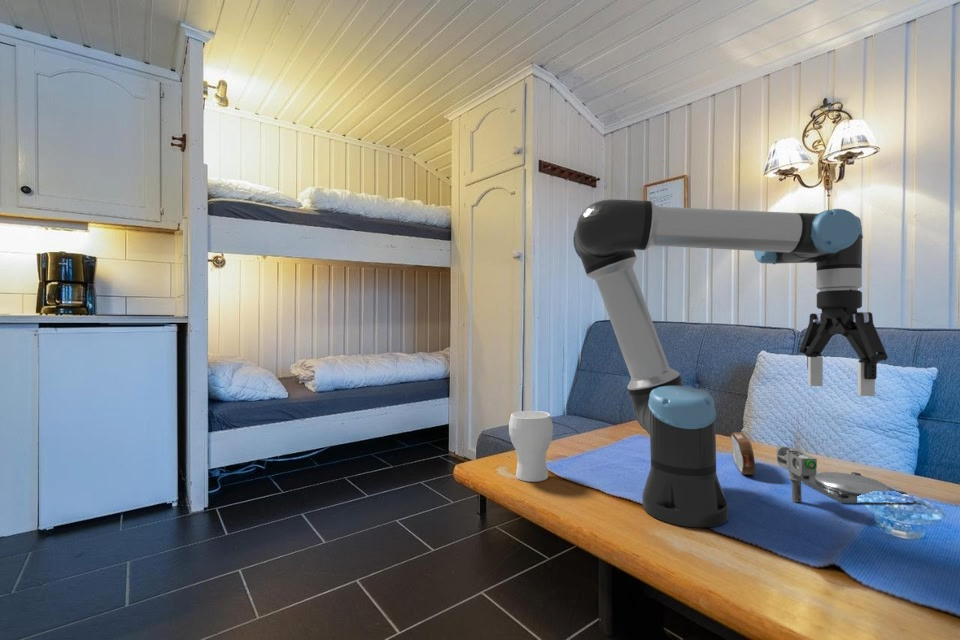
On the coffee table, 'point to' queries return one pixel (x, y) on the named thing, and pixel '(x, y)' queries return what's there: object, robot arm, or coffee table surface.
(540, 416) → the cup
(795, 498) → the mechanical component
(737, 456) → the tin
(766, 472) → the coffee table surface
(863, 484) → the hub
